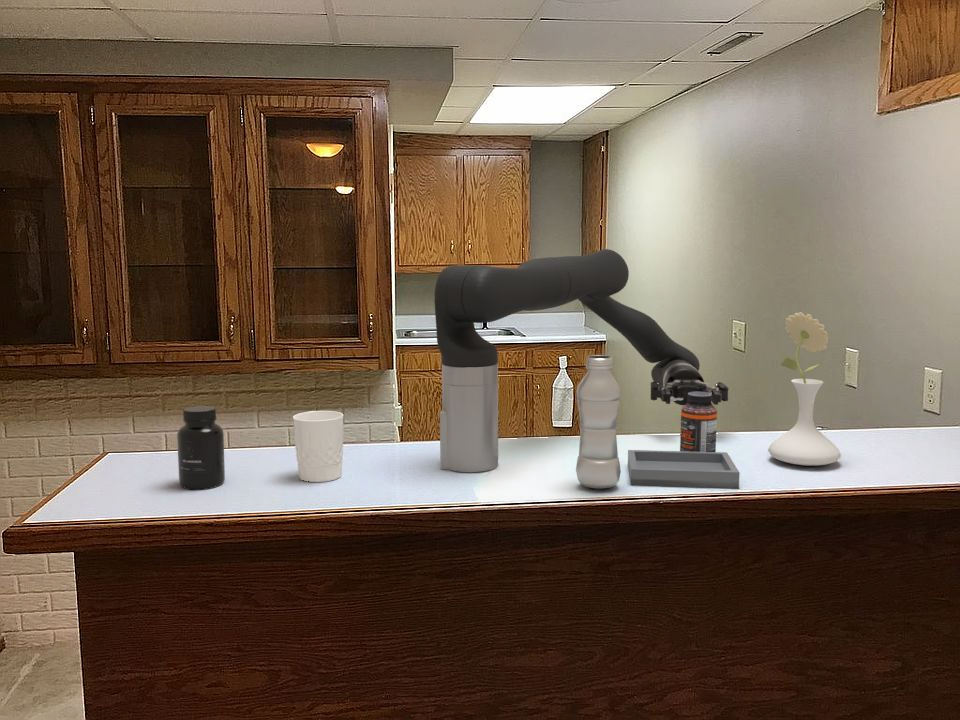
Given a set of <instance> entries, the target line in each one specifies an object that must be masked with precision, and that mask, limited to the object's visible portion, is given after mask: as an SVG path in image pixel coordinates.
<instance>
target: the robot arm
mask: <svg viewBox="0 0 960 720" xmlns="http://www.w3.org/2000/svg"><path fill="white" fill-rule="evenodd" d="M629 273H630V271H629V267H628V264H627V262H626V261H625V259H624V257H622V255H621V254H620V253H619V252H616V251H615V250H614V249H613V250H612V249H608V248H603V249H601V250H598V251H594V252H593V253H589V254H585V255H569V256H556V257H555V256H553V257H551V256H550V257H539V258H533V259H529V260H526V261H524V262H522V263H520V264H519V266H518V267H515V268H512V267H499V266H492V265H477V264H475V265H474V264H473V265H470V264H469V265H468V264H466V265H465V264H464V265H463V264H462V265H460V264H458V265H456V264H454V265H449V266H446V267H445V268H443V269H442V270H441V272H440V273H439V274H438V276H437V279H436V282H435V285H434V286H435V287H434V298H433V299H434V300H433V301H434V315H435V329H436V330H435V331H436V342H437V347H438V350H439V353H440V357H441V383H442V384H441V392H442V393H441V397H442V401H441V402H442V405H441V406H442V407H441V408H442V409H441V410H440V412H439V437H440V438H439V445H440V446H439V448H440V449H439V450H440V451H439V453H440V455H439V456H440V461H439V462H440V469H442V470H443V469H444V470H450V471H454V472H461V473H477V472H485V471H486V472H487V471H491V470H493V469H496V468H497V467H498V466H499V368H498V367H499V364H498V363H499V361H498V360H499V357H498V356H499V355H498V349H497V347H496V346H495V345H494V344H493V343H491V342H489V341H488V340H486V339H484V337H482V336H481V335H480V333H478V332H477V330H476V327H475V324H474V323H476V324H486V323H493V322H495V321H496V322H497V321H499V320H502V319H503V318H506V317H508V316H511V315H514V314H517V313H519V312H524V311H526V312H527V311H528V312H533V311H534V312H535V311H542V310H548V309H553V308H558V307H561V306H564V305H567V304H569V303H571V302H575V301H576V300H578V301H580V303H582V305H584V306H585V307H587V308H588V309H589V310H590V311H591V312H593V313H594V314H595V315H597V317H599V319H602V320H603V321H604V322H605V323H607V324H608V325H609V326H610V327H612V328H613V329H615V330H616V331H617V332H618V333H620V334H621V335H622V336H623V338H625V339H626V340H627V341H628V342H629V343H630V345H632V347H633V348H634V349H635V350H636V351H637V352H638V353H639V355H640V356H641V357H642V358H643V359H644V360H645V361H647V363H650V364H654V366H653V367H652V368H651V372H650V373H651V374H650V375H651V379H652V381H651V382H650V400H652V401H657V400H658V399H660V401H661V402H665V404H666V405H670V404H671V402H673V403H675V405H678V406H679V405H680V406H684V405H686V403H687V402H688V400H687V398H688V393H689V392H707V393H710V394H712V401H711V403H712V405H713V406H716V405H719V403H722V401H723V402H728V401H729V387H728V386H727V385H726V384H725V383H724V382H721V381H720V382H716V383H715V384H714V385H715V386H712V384H711V383H709V382H705V380H704V378H703V376H702V374H701V373H700V372H699V371H700V361H699V359H698V357H697V356H696V355H695V353H694V352H692V351H691V350H689V349H688V348H686V347H684V346H683V345H681V344H679V343H677V342H676V341H675V340H673V339H672V338H671V337H670V336H669V335H668V334H667V332H665V331H664V329H663V328H662V327H661V326H660V325H659V324H658V322H656V320H655V319H654V318H652V317H651V316H649V315H648V314H646V313H645V312H642V311H640V310H638V309H635V308H632V307H631V306H628V305H627V304H626V305H625V304H624V303H621V302H620V301H617V300H616V299H614V298H613V297H611V296H613V295H616V294H617V293H620V292H621V291H622V290H623V289H625V288H626V285H627V283H628V280H629V276H630V275H629Z"/></svg>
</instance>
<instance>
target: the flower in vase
mask: <svg viewBox="0 0 960 720" xmlns="http://www.w3.org/2000/svg"><path fill="white" fill-rule="evenodd" d="M785 321H786V322H785V329H784V330H785V331H786V333H788V337H789V338H790V339H792V341H793V343H794V344H795V345H797V347H796V352H795V359H793V358H791V357H790V356H786V357H785V358H784V359H783V361H782V362H781V364H780V366H782V367H786V368H788V369H790V370H791V371H796V370H797V369H798V371H799V373H800V375H801V378H794V379H791V381H790V382H791V383H792V385H793V386H794V388H795V390H796V395H797V398H798V417H797V421H796V422H795V425H793V427H792V428H791V429H789V430H788V431H786V432H785V433H782V434H781V435H780V436H779V437H777V438H776V439H775V440H774V441H772V442H771V443H770V444H769V446H768V448H767V452H768V454H769V455H770V456H771V457H772V458H775V459H776V460H779V461H781V462H784V463H787V464H792V465H799V466H827V465H830V464H832V463H836V462H837V461H838V460H839V459H840V458H841V457H842V455H841V452H840V450H839V448H838V447H837V446H836V444H834V443H833V442H832V441H831V440H830V439H829V438H828V437H827V436H825V435H824V434H823V433H822V432H821V431H820V430H819V429H818V428H817V427H816V425H815V423H814V406H815V400H816V396H817V393H818V392H819V390H820V388H821V387H822V385H823V384H824V381H823V380H820V379H814V378H805V375H804V373H806V372H809V371H811V370H814V369H816V368H818V366H820V365H822V363H823V361H821V362H819V363H818V364H816V365H813V366H810V367H807V368H806V369H805V370H804V371H802V369H801V366H800V364H799V360H798V359H799V357H798V355H799V352H800V348H801V349H805V350H806V351H807V352H811V353H815V354H816V353H817V352H822V351H823V350H827V349H828V346H827V345H828V343H829V333H828V332H827V331H825V329H826V327H825V325H824V324H822V323H820V321H819V319H817V318H813V316H812V314H810V313H807V314H806V315H805V314H804V313H803V312H801V311H799V312H795V313H794V314H792V315H788V317H786V318H785Z"/></svg>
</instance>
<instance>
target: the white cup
mask: <svg viewBox="0 0 960 720" xmlns="http://www.w3.org/2000/svg"><path fill="white" fill-rule="evenodd" d="M344 415H345V414H343V413H342V412H340V411H336V410H335V411H334V410H312V411H311V410H310V411H305V412H300V413H297V414H294V415H293V416H292V421H293V423H292V424H293V434H294V435H293V436H294V446H295V452H296V454H295V455H296V456H295V457H296V462H297V470H298V471H297V472H298V478H299V479H300V480H301V481H303V480H304V481H303V482H308V481H309V482H308V483H310V482H311V483H325V482H330V481H335V480H338V479H340V478H341V476H342V475H343V461H342V460H343V455H344V451H343V450H344V449H343V448H344Z"/></svg>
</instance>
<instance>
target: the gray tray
mask: <svg viewBox="0 0 960 720" xmlns="http://www.w3.org/2000/svg"><path fill="white" fill-rule="evenodd" d="M627 469H628V475H629V481H630V486H644V487H673V488H674V487H678V488H705V489H706V488H708V489H709V488H710V489H735V490H736V489H740V471H739V469H738V467H737V466H736V465H735V463H734V461H733V459H732V458H731V457H730V455H729V454H728V452H724V451H723V452H720V451H716V452H689V451H680V450H679V451H678V450H647V449H646V450H643V449H628V450H627Z"/></svg>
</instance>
